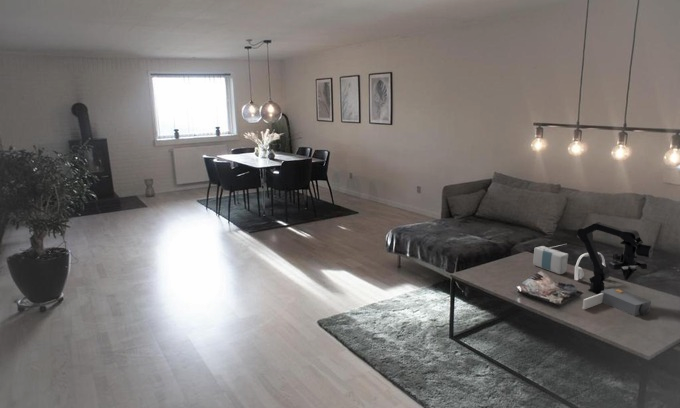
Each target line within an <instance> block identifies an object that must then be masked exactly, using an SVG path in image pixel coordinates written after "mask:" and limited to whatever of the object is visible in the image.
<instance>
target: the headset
mask: <svg viewBox="0 0 680 408" xmlns="http://www.w3.org/2000/svg"><path fill="white" fill-rule="evenodd" d="M597 253H598V255H599V256H600V257H601V262H602V264H603V265H604V266H605V267H606V261H605V257H604V255H603V254H602V253H601V252H598V251H597ZM584 257H587V258H588V257H589V254H588V252H585V253H583V254H581V255H580V256H579V257H578V258H577V261H576V264H575V265H574V274H573V275H574V281H579V280H580V279H583V278H584V274H585V273H584V270H583V268H582V267H580V266H579V264H580V263H581V260H582V258H584Z"/></svg>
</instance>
